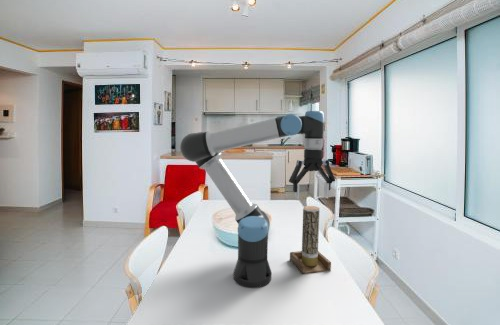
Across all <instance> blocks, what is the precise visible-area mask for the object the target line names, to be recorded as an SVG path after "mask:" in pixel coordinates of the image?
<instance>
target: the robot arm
mask: <svg viewBox="0 0 500 325" xmlns="http://www.w3.org/2000/svg"><path fill="white" fill-rule="evenodd" d="M324 116H325V114H324V111H322V110H307V111H306V112H305V114H304V115H297V114H295V113H288V114H286V115H277V116H276V117H273V118H269V119H265V120H262V121H258V122H253V123H249V124H245V125H240V126H237V127H232V128H228V129H224V130H220V131H216V132H210V131H204V132H203V131H200V132H193V133H192V132H191V133H188V134H187V135H185V136H184V137H183V138H182V140H181V142H180V145H179V149H180V153H181V155H182V157H183V158H184V159H186V160H187V161H189V162H192V163H193V162H194V163H196V165H197V166H198V168H199V169H201V170H204V171H205V172H206V173H207V175H208V176H209V178H210V180H212V181H213V183H214V185H215V187H216V188H217V190H218V191H219V192H220V194H221V195H222V197H223V198H224V200H225V201H226V202H227V204H228V205H229V207H230V208H231V209H232V211H233V213H234V214H235V219H234V220H235V222H236V223H237V225H238V226H237V246H238V247H237V260H236V264H235V267H234V269H233V280H234V282H235V283H236V284H238V285H240V286H241V287H245V288H251V289H253V288H254V289H255V288H260V287H264V286H267V285H269V283H270V282H271V281H272V269H271V266H270V263H269V260H268V247H269V246H268V243H269V242H268V240H269V232H270V227H271V226H270V225H271V223H270V219H269V217H268V214H266V213H265V211H263V210H261V208H260V207H259V205H258V204H256V203H253V202H252V201H251V200H250V198H249V197H248V196H247V194H246V192H245V191H244V190H243V188H242V187H241V185H240V183H238V181H237V179H236V178H235V176H234V175H233V174H232V172H231V171H230V169H229V167H228V166H227V165H226V163H225V162H224V160H223V158H222V155H223V153H222V152H223V151H228V150H232V149H236V148H237V149H238V148H241V147H244V146H245V147H246V146H250V145H255V144H258V143H262V142H267V141H271V140H275V139H279V138H280V139H281V138H284V137H285V138H286V137H289V136H295V135H304V142H303V143H304V144H303V146H304V148H305V149H304V150H303V160H299V159H297V160H296V163H295V164H296V165H295V167H294V170H292V171H293V172H292V173H291V175H290V177H289V180H288V182H289V183H290V184H292V191H293V193H294V200H296V201H300V184H299V183H300V182H301V181H302V179H303V178H304V177H305V175H306V174H308V173H309V172H318V173H319V175H321V177H322V179H324V183H323V198H325V199H327V200H328V199H329V193H330V191H331V186H332V185H331V184H332V183H334V182H336V179H335V176H334V173H333V171H332V169H331V167H330V160H327V159H324V160H323V154H324V153H323V148H324V127H325V118H324ZM302 166H303V167H302ZM322 166H323V167H324V169H325V170H324V169H323V168H322ZM301 168H302V170H301ZM300 170H301V171H300ZM325 171H326V172H325Z"/></svg>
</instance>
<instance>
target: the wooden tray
mask: <svg viewBox="0 0 500 325" xmlns="http://www.w3.org/2000/svg"><path fill="white" fill-rule="evenodd" d="M289 261H290V262H291V263H292V264H293V265H294V267H295V268H297V270H298V271H299V272H300V273H301V274H302V275H307V274H315V273H322V272H328V271H329V272H330V271H331V270H332V262H331V261H330V260H329V259H328V258H326V257H325V255H323V254H322V253H321V252H320V251H319V250H318V261H317V265H316V266H313V267H309V266H305V265H304V264H303V263H302V250H299V251H298V250H297V251H291V252H289Z"/></svg>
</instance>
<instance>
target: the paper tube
mask: <svg viewBox="0 0 500 325" xmlns="http://www.w3.org/2000/svg"><path fill="white" fill-rule="evenodd" d="M319 226H320V207H318V206H315V205H305V206H303V207H302V234H301V235H302V237H301V238H302V239H301V251H302V263H303V264H304V265H305V266H309V267H313V266H316V265H317V261H318V251H319V232H320V227H319Z"/></svg>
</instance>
